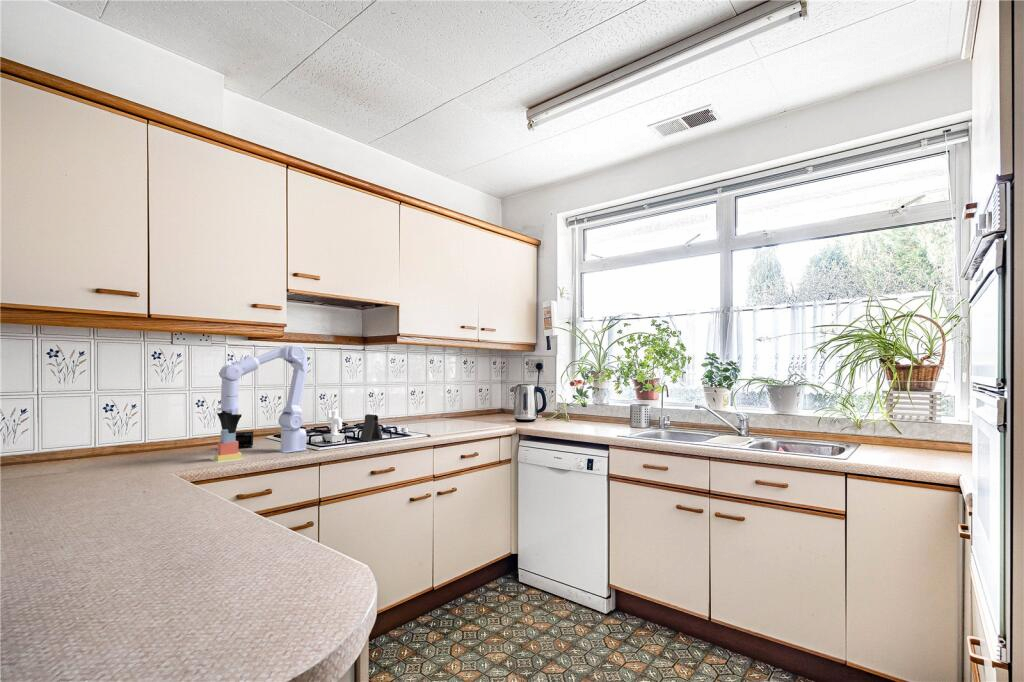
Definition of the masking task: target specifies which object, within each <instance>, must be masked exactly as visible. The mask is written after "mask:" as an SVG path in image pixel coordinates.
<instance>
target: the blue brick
mask: <svg viewBox="0 0 1024 682" xmlns="http://www.w3.org/2000/svg"><path fill="white" fill-rule="evenodd" d="M236 432H237V431H236ZM236 432H235V433H228V429H225V430H222V429H220V442H222V443H229V442H235V440H236Z"/></svg>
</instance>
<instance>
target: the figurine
mask: <svg viewBox="0 0 1024 682" xmlns="http://www.w3.org/2000/svg"><path fill="white" fill-rule="evenodd" d="M326 419H327V422H328V423H330V433H326V434H322V436H323V438H324V439H325V442H327V441H330V442H337V441H341V442H342V441H343V440H344V438H345V436H346V434H345V433H340V432H338V431H339V430H342V429H343V420H342V418H341V417H339V410H338V409H331V410H327V414H326Z"/></svg>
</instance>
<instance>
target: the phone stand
mask: <svg viewBox="0 0 1024 682" xmlns="http://www.w3.org/2000/svg"><path fill="white" fill-rule="evenodd" d="M380 439H382V440H383V435H382V432H381V427H380V424H379V416H378V415H377V414H369V413H367V414H366V413H365V414H364V422H363V427H362V430H361V432H360V436H359V441H360V440H363V441H362V442H367V441H370V442H375V441H374V440H376V441H380Z"/></svg>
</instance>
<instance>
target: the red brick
mask: <svg viewBox="0 0 1024 682" xmlns="http://www.w3.org/2000/svg"><path fill="white" fill-rule="evenodd" d="M238 452H239V449H238V441H236V440H235V442H229V443H222V442H221V441H218V442H217V454H219V455H229V454H237V453H238Z"/></svg>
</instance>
